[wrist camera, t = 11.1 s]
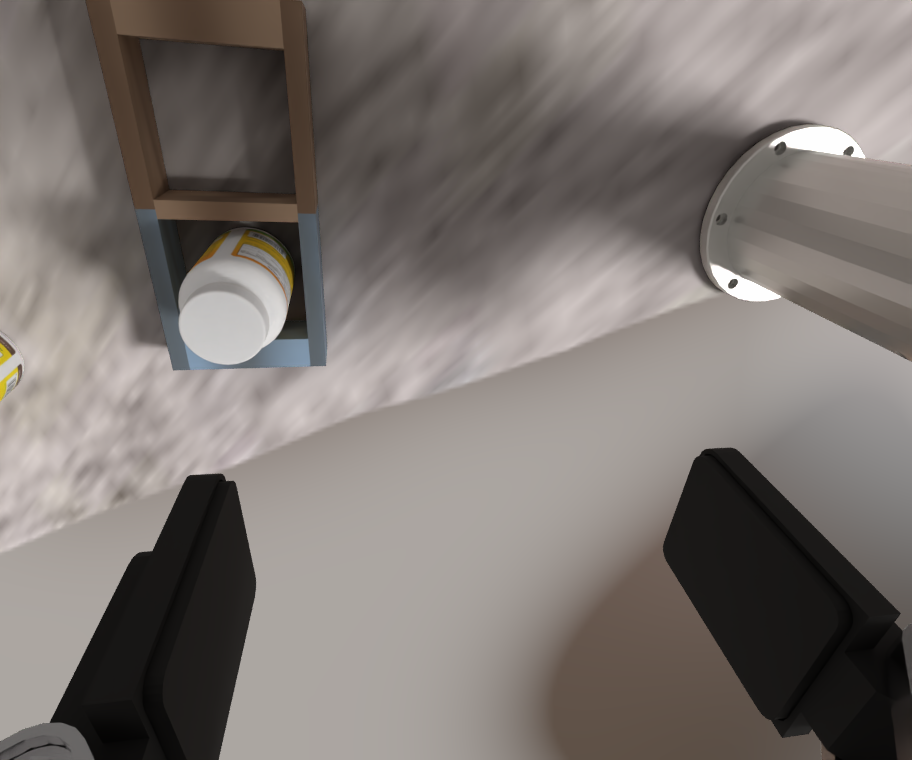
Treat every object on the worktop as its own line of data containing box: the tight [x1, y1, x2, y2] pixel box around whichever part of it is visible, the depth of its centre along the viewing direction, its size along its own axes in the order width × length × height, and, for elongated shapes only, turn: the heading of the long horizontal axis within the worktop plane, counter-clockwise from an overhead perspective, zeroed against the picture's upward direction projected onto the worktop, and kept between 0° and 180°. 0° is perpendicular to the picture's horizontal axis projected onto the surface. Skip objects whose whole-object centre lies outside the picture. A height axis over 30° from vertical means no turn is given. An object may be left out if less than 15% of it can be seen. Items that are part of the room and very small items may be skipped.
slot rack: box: [86, 0, 327, 370], centre depth 30 cm, size 9×20×3 cm, turn 176°
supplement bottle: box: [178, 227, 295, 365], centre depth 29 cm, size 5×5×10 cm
